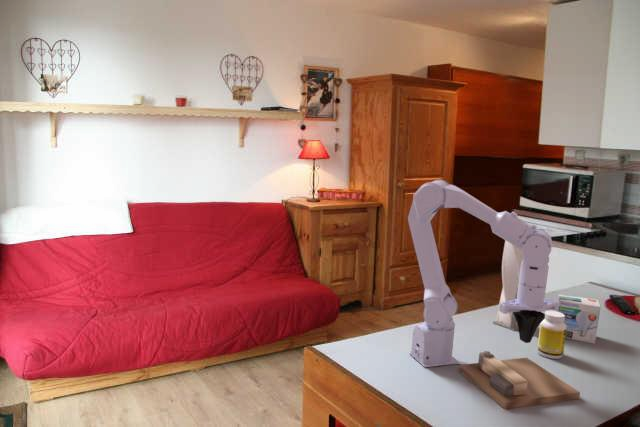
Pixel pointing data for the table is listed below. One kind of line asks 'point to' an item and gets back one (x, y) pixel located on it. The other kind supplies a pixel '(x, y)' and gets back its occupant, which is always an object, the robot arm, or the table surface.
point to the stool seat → (539, 384)
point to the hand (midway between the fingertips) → (525, 340)
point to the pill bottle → (552, 335)
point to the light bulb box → (580, 317)
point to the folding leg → (502, 372)
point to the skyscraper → (509, 283)
